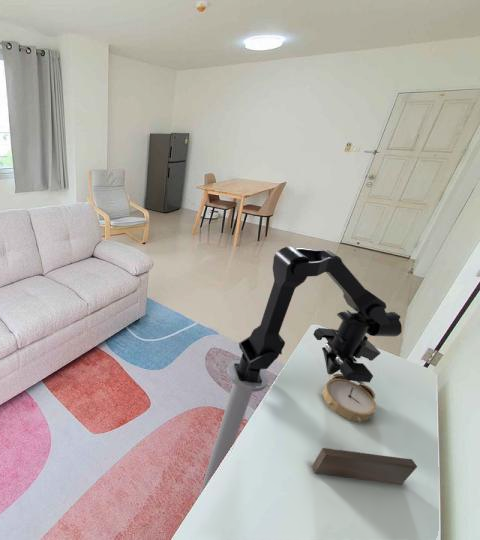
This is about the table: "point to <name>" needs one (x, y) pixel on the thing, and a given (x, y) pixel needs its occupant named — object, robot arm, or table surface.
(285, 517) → the table surface
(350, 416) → the alarm clock
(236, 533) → the table surface
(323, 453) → the shelf back
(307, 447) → the table surface
